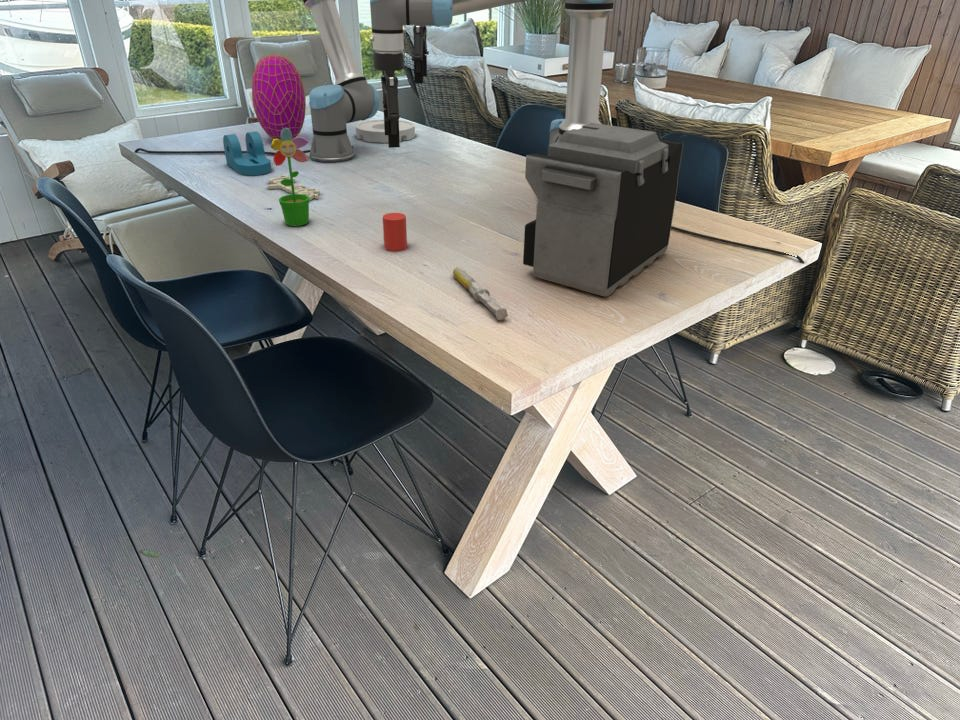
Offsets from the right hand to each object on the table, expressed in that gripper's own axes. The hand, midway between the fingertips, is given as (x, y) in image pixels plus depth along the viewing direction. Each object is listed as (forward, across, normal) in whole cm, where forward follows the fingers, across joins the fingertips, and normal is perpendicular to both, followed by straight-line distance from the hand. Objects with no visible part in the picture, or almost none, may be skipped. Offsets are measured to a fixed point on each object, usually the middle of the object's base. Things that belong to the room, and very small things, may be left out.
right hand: (392, 141), depth 178 cm
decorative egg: (+21, -97, -34) cm, 105 cm away
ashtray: (+20, -98, +5) cm, 101 cm away
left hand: (-7, -53, +14) cm, 56 cm away
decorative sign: (+21, -30, -29) cm, 47 cm away
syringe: (+20, +54, +13) cm, 59 cm away
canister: (+20, +22, -2) cm, 30 cm away
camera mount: (+21, -57, -43) cm, 74 cm away
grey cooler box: (+20, +42, +44) cm, 64 cm away
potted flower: (+21, +1, -26) cm, 33 cm away
